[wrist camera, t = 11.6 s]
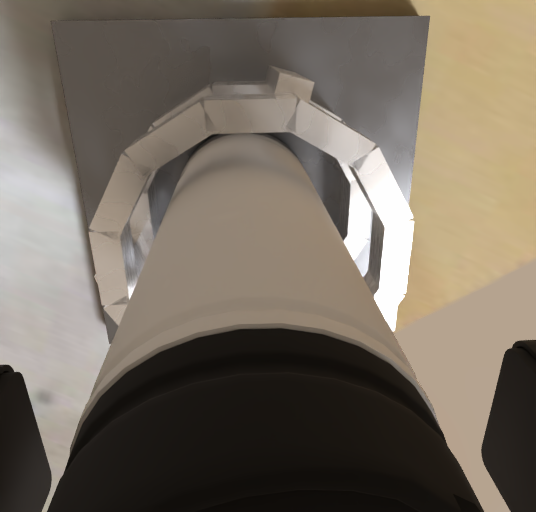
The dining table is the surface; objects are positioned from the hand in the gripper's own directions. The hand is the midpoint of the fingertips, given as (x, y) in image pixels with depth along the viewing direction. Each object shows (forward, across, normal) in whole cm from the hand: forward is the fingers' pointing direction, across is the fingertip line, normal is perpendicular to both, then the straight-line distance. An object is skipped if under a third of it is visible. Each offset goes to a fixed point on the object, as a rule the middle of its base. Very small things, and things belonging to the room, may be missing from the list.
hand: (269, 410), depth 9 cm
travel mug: (+15, 0, 0) cm, 15 cm away
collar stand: (+16, 0, +1) cm, 16 cm away
